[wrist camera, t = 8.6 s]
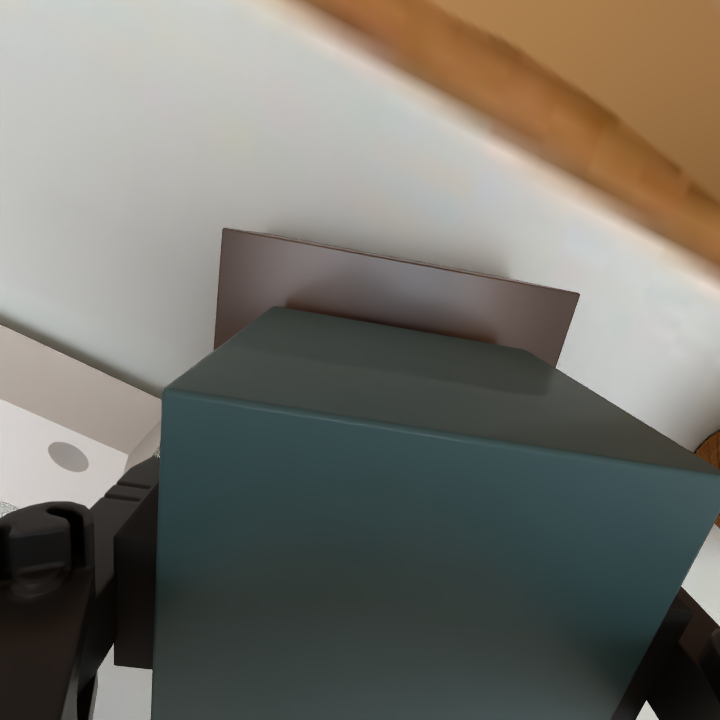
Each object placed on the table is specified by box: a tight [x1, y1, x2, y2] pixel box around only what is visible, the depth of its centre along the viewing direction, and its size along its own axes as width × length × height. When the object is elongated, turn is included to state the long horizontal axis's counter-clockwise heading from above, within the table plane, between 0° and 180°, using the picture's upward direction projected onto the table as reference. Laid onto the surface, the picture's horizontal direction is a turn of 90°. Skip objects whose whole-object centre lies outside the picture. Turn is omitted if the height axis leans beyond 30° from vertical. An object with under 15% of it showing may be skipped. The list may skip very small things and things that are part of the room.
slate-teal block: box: [151, 306, 720, 720], centre depth 10 cm, size 8×8×7 cm
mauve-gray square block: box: [214, 228, 580, 368], centre depth 17 cm, size 12×12×6 cm
